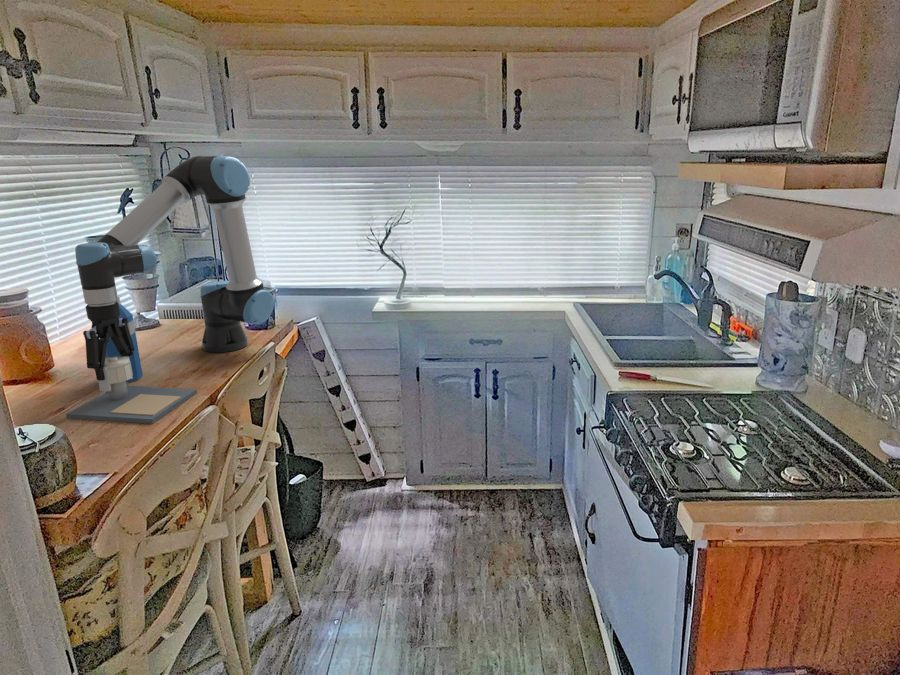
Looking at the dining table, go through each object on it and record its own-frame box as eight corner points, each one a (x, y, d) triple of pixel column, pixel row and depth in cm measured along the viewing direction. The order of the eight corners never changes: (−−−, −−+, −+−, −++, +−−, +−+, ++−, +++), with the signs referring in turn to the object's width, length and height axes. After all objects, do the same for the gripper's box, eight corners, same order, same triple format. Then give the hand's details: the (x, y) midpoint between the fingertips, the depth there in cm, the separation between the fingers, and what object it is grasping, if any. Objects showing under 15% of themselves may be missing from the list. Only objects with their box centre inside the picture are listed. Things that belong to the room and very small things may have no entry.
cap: (133, 371, 162) (130, 351, 160) (130, 381, 155) (127, 360, 153) (101, 375, 159) (97, 355, 158) (96, 385, 152) (92, 364, 150)
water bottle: (143, 380, 174) (129, 299, 167) (107, 386, 169) (92, 303, 162) (141, 371, 182) (128, 293, 174) (107, 376, 177) (92, 296, 170)
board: (119, 389, 167) (114, 358, 165) (197, 393, 164) (192, 362, 162) (66, 418, 148) (59, 384, 146) (153, 423, 145) (147, 389, 143)
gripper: (115, 293, 161) (129, 370, 168) (57, 312, 142) (75, 398, 148) (140, 294, 160) (153, 371, 167) (85, 313, 141) (102, 400, 147)
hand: (116, 384), depth 158 cm, fingers closed on cap, 8 cm apart
